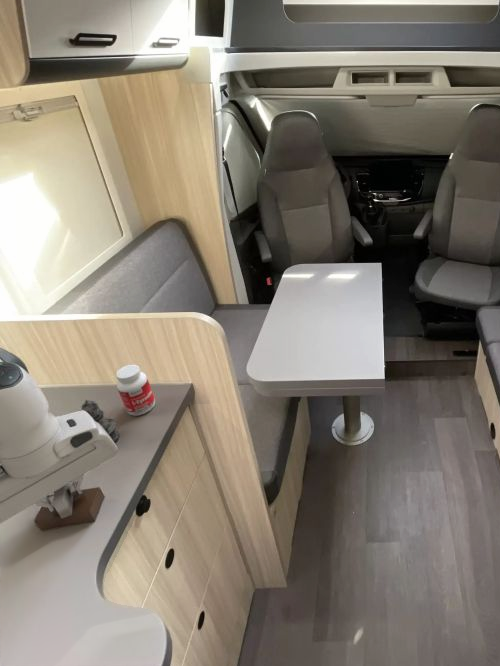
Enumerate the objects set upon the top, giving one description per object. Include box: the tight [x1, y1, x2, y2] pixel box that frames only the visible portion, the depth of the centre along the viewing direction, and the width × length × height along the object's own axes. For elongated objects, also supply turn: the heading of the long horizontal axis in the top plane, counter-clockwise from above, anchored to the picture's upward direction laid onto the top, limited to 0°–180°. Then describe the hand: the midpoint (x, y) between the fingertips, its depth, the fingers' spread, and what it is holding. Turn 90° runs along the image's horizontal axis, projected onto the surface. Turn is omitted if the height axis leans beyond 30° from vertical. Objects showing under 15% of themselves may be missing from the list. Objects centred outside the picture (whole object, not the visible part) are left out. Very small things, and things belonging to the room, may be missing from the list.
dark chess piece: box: [80, 399, 120, 444], centre depth 93 cm, size 6×6×12 cm
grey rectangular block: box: [53, 482, 73, 518], centre depth 79 cm, size 6×2×4 cm, turn 30°
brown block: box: [33, 486, 106, 532], centre depth 81 cm, size 9×5×3 cm, turn 101°
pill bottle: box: [115, 364, 156, 417], centre depth 101 cm, size 6×6×11 cm
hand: (66, 500), depth 79 cm, fingers closed on grey rectangular block, 2 cm apart
